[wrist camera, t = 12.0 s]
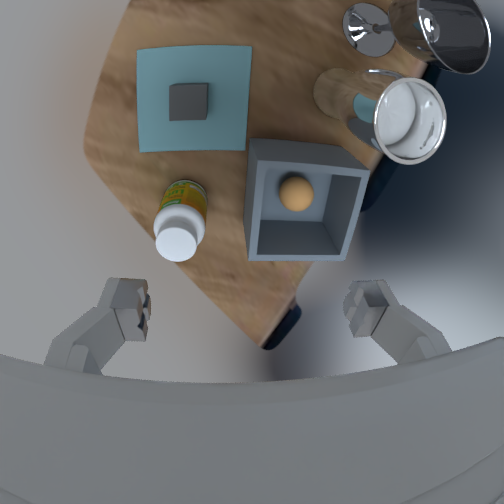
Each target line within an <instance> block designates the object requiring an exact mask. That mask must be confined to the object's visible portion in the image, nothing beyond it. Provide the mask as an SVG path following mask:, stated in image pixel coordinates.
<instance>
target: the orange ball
mask: <svg viewBox="0 0 504 504" xmlns="http://www.w3.org/2000/svg"><path fill="white" fill-rule="evenodd" d="M279 198H280V201H281V203H282V204H283V206H284V207H285V208H287V209H289V210H291V211H296V212H298V211H303V210H305V209H307V208H308V207H309V206H310V205H311V203H312V201H313V198H314V190H313V187H312V185H311V184H310V183H309V181H307V180H306V179H304V178H302V177H290V178H288V179H286V180H285V181H284V182H283V183H282V185H281V186H280V189H279Z"/></svg>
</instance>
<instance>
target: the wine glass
mask: <svg viewBox="0 0 504 504" xmlns="http://www.w3.org/2000/svg"><path fill="white" fill-rule="evenodd" d="M342 25H343V31H344V34H345V36H346V38H347V40H348V42H349V43H350V44H351V45H352V46H353V47H354V48H355V49H356V50H357V51H359V52H360V53H362V54H364V55H367V56H371V57H380V56H384V55H386V54H388V53H389V52H390V51H391V50H392V49H393V47H394V45H395V43H396V41H397V42H398V44H399V45H400V46H401V47H402V48H403V49H404V50H405V51H406V52H408V53H409V54H410V55H412V56H413V57H415V58H417V59H419V60H421V61H423V62H425V63H427V64H430V65H432V66H435V67H437V68H441V69H444V70H448V71H453V72H457V73H461V74H473V73H476V72H478V71H480V70H481V69H482V68H483V67H484V65H485V64H486V62H487V60H488V57H489V54H490V49H491V39H490V38H491V37H490V31H489V27H488V23H487V20H486V18H485V16H484V13H483V12H482V10H481V8H480V6H479V5H478V3H477V2H476V1H475V0H392V2H391V4H390V6H389V9H388V14H387V13H386V12H385V11H384V10H383V9H381V8H380V7H378V6H376V5H373V4H370V3H358V4H355V5H352V6H351V7H350V8H349V9H348V10H347V11H346V12H345V14H344V17H343V24H342Z"/></svg>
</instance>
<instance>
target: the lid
mask: <svg viewBox="0 0 504 504" xmlns="http://www.w3.org/2000/svg"><path fill="white" fill-rule="evenodd" d="M251 57H252V46H230V45H195V46H174V47H161V48H150V49H142V50H137V114H138V134H139V149H140V152H155V151H180V150H245V145H246V129H247V114H248V99H249V84H250V70H251Z"/></svg>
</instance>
